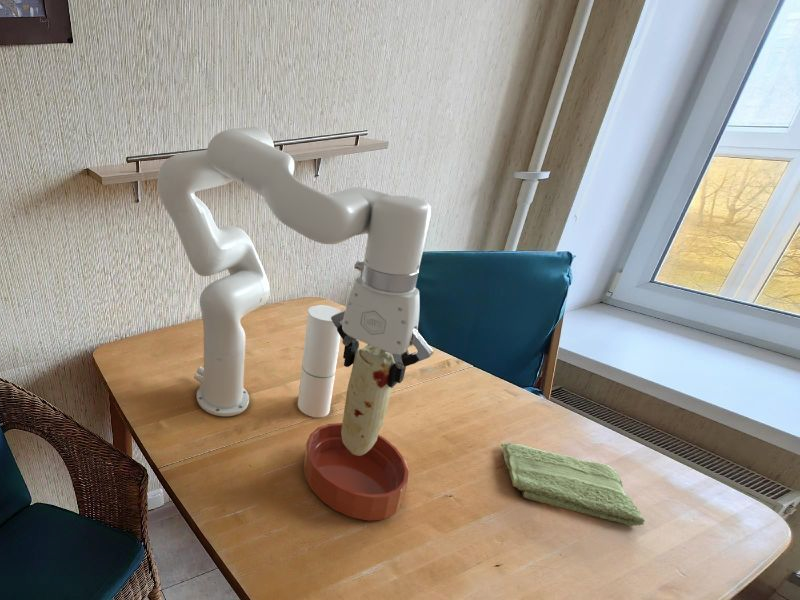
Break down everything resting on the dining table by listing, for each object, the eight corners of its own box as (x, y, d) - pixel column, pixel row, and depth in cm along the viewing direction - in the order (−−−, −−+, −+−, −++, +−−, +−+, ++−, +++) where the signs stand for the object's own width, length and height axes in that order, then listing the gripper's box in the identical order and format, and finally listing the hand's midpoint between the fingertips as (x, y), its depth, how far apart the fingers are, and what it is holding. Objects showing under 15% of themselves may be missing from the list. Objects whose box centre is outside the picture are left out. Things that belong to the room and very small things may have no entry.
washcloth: (496, 446, 88) (500, 434, 87) (610, 476, 80) (617, 463, 79) (511, 496, 77) (516, 483, 76) (646, 536, 70) (654, 522, 68)
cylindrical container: (329, 400, 102) (342, 307, 93) (330, 420, 96) (344, 322, 87) (298, 394, 104) (308, 303, 96) (296, 413, 98) (307, 318, 89)
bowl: (285, 476, 82) (288, 452, 80) (332, 433, 92) (336, 411, 90) (375, 542, 70) (381, 516, 68) (418, 484, 80) (424, 460, 78)
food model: (374, 468, 72) (396, 369, 65) (333, 452, 75) (349, 356, 68) (382, 432, 80) (402, 340, 72) (344, 418, 83) (360, 329, 76)
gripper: (324, 267, 70) (312, 359, 76) (442, 303, 57) (416, 409, 64) (347, 256, 74) (334, 344, 81) (461, 287, 62) (436, 388, 68)
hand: (371, 372), depth 72 cm, fingers closed on food model, 6 cm apart
